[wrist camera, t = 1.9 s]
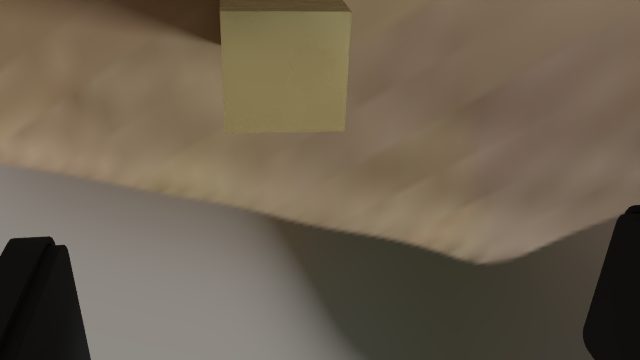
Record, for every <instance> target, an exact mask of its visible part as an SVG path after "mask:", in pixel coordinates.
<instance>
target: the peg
mask: <svg viewBox="0 0 640 360" xmlns="http://www.w3.org/2000/svg"><path fill="white" fill-rule="evenodd" d="M350 28H351V10H350V9H349V8H348V6H347V5H346V4H345V2H344V1H343V0H220V29H221V51H222V74H223V97H224V120H225V134H234V133H275V132H316V131H344V129H345V112H346V96H347V79H348V62H349V45H350Z"/></svg>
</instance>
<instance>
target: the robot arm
mask: <svg viewBox="0 0 640 360" xmlns="http://www.w3.org/2000/svg"><path fill="white" fill-rule="evenodd" d="M583 339H584V343H585V346H586V348H587V350H588V351H589V353H590V354H591V355H592V357H593V358H594V359H595V360H640V205H634V206H631V207H629V208H628V209H627V210H626V212H625V214H623V215H621V216H620V217H619V218H618V220H617V222H616V225H615V228H614V231H613V235H612V238H611V241H610V244H609V247H608V251H607V254H606V257H605V260H604V264H603V267H602V270H601V273H600V277H599V280H598V283H597V286H596V289H595V293H594V296H593V299H592V302H591V305H590V309H589V312H588V315H587V319H586V322H585V325H584V329H583ZM0 360H91V359H90V353H89V348H88V344H87V339H86V334H85V329H84V325H83V320H82V315H81V310H80V305H79V301H78V296H77V291H76V286H75V281H74V277H73V272H72V268H71V262H70V257H69V253H68V249H67V247H66V246H65V245H55V242H54V240H53V239H52V238H51V237H30V238H13V239H10V240H9V242H8V243H7V245H6V247H5V249H4V250H3V252H2V254H1V256H0Z"/></svg>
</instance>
